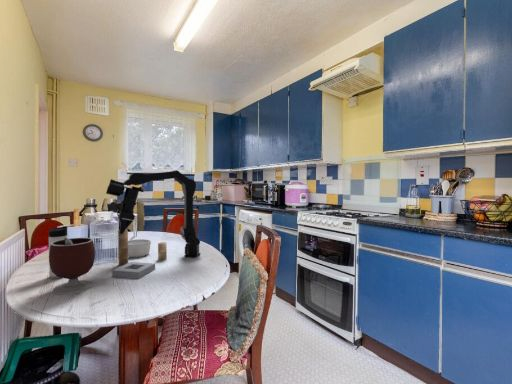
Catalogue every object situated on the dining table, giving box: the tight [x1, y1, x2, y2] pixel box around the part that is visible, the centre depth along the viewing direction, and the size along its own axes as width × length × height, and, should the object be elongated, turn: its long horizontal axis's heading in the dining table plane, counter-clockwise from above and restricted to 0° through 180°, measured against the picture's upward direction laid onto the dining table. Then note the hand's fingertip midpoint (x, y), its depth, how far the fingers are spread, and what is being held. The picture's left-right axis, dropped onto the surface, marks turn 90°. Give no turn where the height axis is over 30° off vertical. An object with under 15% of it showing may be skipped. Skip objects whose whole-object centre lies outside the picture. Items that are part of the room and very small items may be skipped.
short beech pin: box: [157, 241, 168, 261], centre depth 138 cm, size 4×4×8 cm
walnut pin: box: [117, 229, 129, 267], centre depth 129 cm, size 4×4×16 cm
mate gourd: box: [48, 237, 96, 296], centre depth 100 cm, size 16×14×20 cm
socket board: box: [111, 261, 156, 279], centre depth 118 cm, size 12×12×2 cm
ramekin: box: [128, 238, 152, 258], centre depth 146 cm, size 13×13×7 cm
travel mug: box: [48, 225, 69, 280], centre depth 112 cm, size 6×7×20 cm
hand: (120, 232), depth 128 cm, fingers open, 9 cm apart
